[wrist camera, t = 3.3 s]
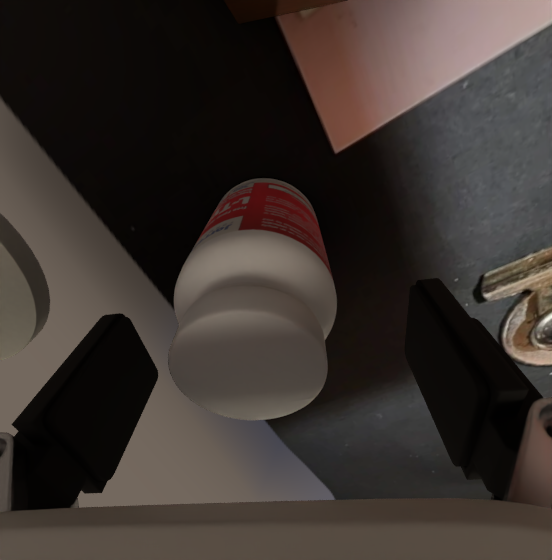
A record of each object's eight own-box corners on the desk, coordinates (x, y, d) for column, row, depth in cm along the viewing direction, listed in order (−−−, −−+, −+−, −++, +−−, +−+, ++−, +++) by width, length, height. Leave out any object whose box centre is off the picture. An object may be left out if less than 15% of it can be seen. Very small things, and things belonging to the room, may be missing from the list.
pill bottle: (247, 152, 16) (196, 238, 6) (337, 213, 17) (403, 353, 8) (197, 242, 19) (111, 393, 9) (279, 287, 20) (277, 454, 11)
